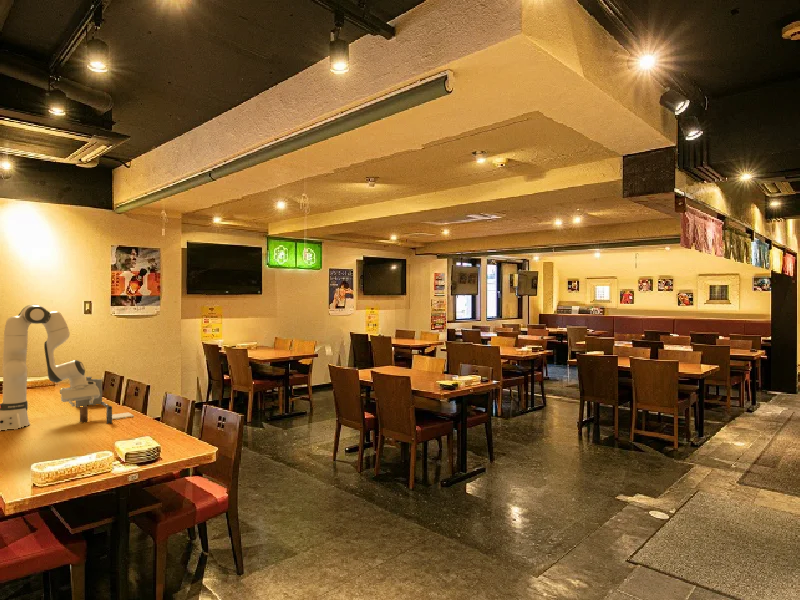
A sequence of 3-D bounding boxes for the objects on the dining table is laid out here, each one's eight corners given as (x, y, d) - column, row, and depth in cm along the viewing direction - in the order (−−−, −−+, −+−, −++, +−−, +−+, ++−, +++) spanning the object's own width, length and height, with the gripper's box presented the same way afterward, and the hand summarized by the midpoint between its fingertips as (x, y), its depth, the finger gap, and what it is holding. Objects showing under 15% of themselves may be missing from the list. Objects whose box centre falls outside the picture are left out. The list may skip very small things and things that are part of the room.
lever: (107, 423, 302) (107, 406, 302) (100, 418, 316) (100, 401, 316) (112, 423, 304) (112, 405, 304) (104, 418, 317) (104, 401, 317)
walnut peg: (80, 423, 304) (80, 407, 304) (79, 421, 307) (79, 407, 307) (88, 422, 307) (88, 407, 307) (86, 420, 310) (86, 406, 310)
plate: (112, 420, 312) (112, 418, 312) (107, 416, 321) (107, 415, 321) (133, 417, 320) (133, 415, 320) (128, 413, 329) (128, 412, 329)
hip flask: (75, 407, 349) (75, 378, 349) (74, 406, 352) (75, 377, 352) (102, 404, 359) (102, 376, 359) (101, 403, 362) (101, 375, 363)
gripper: (59, 385, 310) (62, 404, 302) (98, 381, 323) (102, 399, 316) (58, 391, 313) (61, 410, 306) (96, 387, 327) (100, 405, 319)
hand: (82, 404), depth 311 cm, fingers open, 8 cm apart
